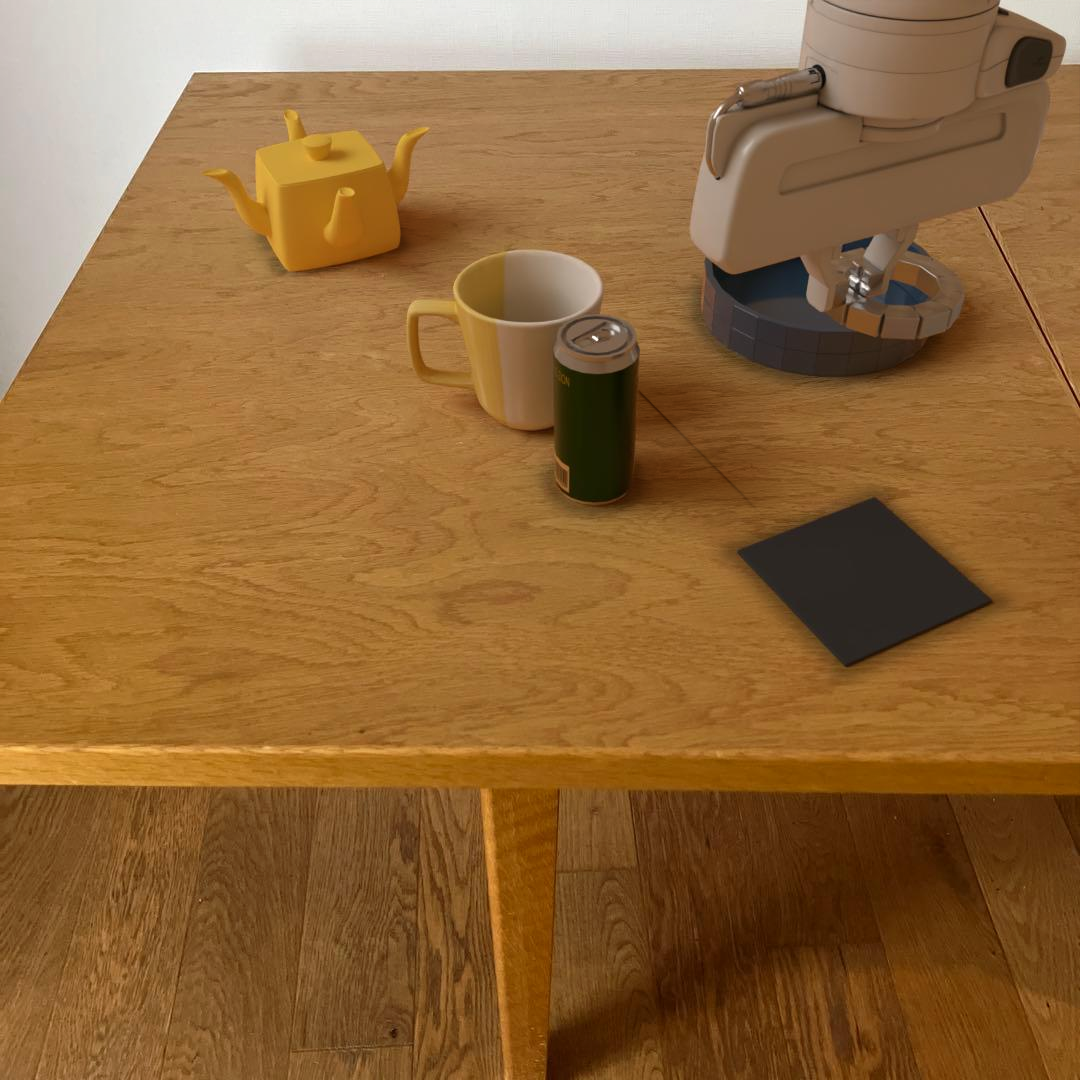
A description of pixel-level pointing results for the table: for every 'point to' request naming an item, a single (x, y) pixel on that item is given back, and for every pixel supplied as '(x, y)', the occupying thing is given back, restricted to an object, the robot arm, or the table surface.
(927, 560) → the mat
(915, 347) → the bowl
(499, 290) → the mug
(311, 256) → the teapot
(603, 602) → the table surface
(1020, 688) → the table surface
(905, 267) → the ring
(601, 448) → the beer can
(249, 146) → the table surface
